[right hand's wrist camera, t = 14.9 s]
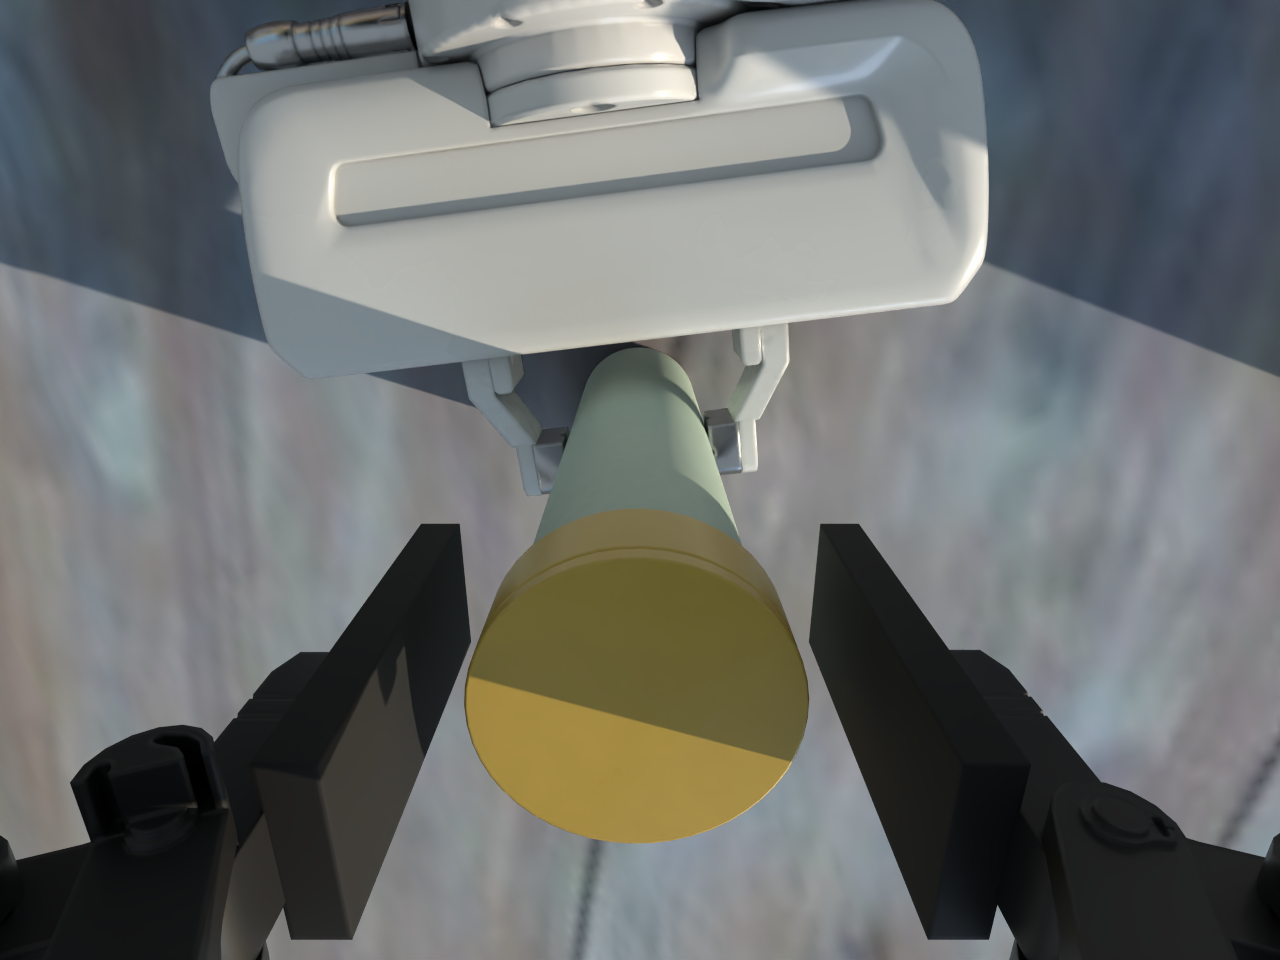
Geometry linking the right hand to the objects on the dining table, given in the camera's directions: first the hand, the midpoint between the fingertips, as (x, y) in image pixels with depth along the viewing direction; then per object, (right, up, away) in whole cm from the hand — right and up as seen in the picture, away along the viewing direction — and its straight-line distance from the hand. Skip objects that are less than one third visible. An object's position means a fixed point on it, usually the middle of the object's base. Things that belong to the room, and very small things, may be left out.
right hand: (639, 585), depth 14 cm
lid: (0, -1, -3) cm, 4 cm away
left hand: (0, +2, +9) cm, 9 cm away
